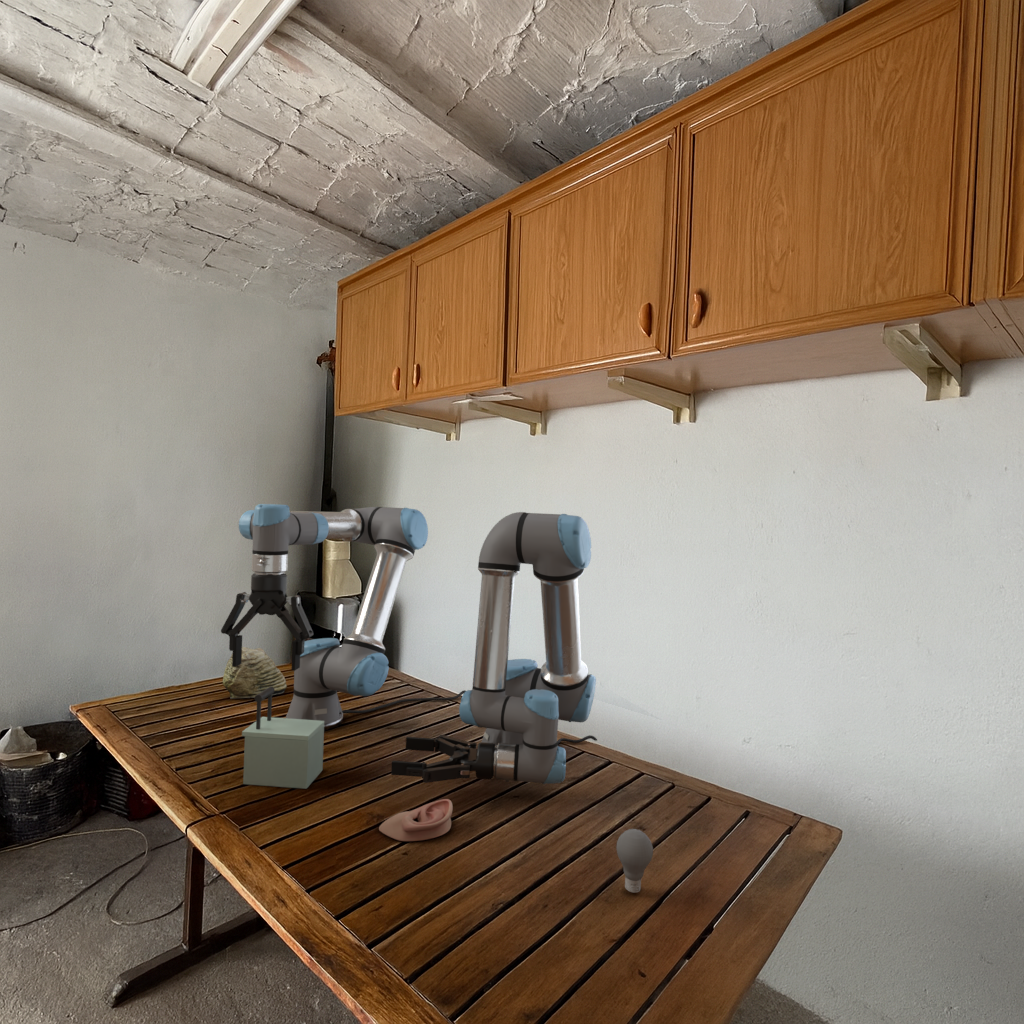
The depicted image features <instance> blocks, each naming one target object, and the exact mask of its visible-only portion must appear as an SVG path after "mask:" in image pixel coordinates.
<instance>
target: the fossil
mask: <svg viewBox="0 0 1024 1024" xmlns="http://www.w3.org/2000/svg"><path fill="white" fill-rule="evenodd" d="M232 656H233V652H232V653H231V656H230V657H229V659H228V660H227V663H226V666H225V668H224V671H223V675H222V676H223V677H222V685H223V687H224V688H225V690H226V691H228V693H229V698H230V699H250V698H255V696H256V695H258V694H259V693H261V692H262V691H264V690H265V689H267V688H269V687H273V688H274V689H275V691H274V693H273V694H272V696H275V695H281V694H284V693H285V691H286V689H287V687H288V686H287V680H286V678H285V676H284V674H283V673H282V672H281V669H279V668H278V667H277V665H276V663H275V662H274V660H273V659H272V658H271V657H270V656H269V655H268V654H267V653H266V652H265V650H264V649H263V648H260V647H258V648H251V647H247V646H246V647H245V646H242V660H241V664H240V665H238V666H236V667H232Z"/></svg>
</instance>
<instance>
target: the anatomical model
mask: <svg viewBox="0 0 1024 1024" xmlns="http://www.w3.org/2000/svg"><path fill="white" fill-rule="evenodd" d="M453 807H454V806H453V802H452V801H451V800H450V799H449V798H443V799H439V800H434V801H432V802H429V803H426V804H424V805H422V806H419V807H417V808H415V809H412V810H409V811H407V810H406V811H401V812H399V813H396V814H394V815H392V816H390V817H388V818H387V819H386V820H385V821H383V822H382V823H381V824H380V825H379V827H378V830H379V832H380V833H382V834H383V835H385V836H387V837H388V838H391V839H394V840H396V841H399V842H417V841H425V840H431V839H434V838H438V837H440V836H443V835H446V834H447V833H448V832H449V831H450V829H451V828H452V818H451V817H452V814H453Z"/></svg>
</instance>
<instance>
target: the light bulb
mask: <svg viewBox="0 0 1024 1024" xmlns="http://www.w3.org/2000/svg"><path fill="white" fill-rule="evenodd" d="M615 849H616V854H617V857H618V859H619V861H620V863H621V865H622V867H623V873H624V874H623V875H624V876H625V878H624V888H625V890H627V891H628V892H630V893H634V894H635V893H639V892H640V891H641V889H642V887H641V886H642V879H643V877H644V875H645V871H646V868H647V867H648V866H649V864H650V863H651V861H652V859H653V855H654V847H653V843H652V841H651V838H649V836H648V835H647V834H646V833H645V832H643V831H642V830H641V829H636V828H629V829H627V830H625V831H623V832H622V833H621V834H620V835H619V837H618V839H617V841H616V847H615Z"/></svg>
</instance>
